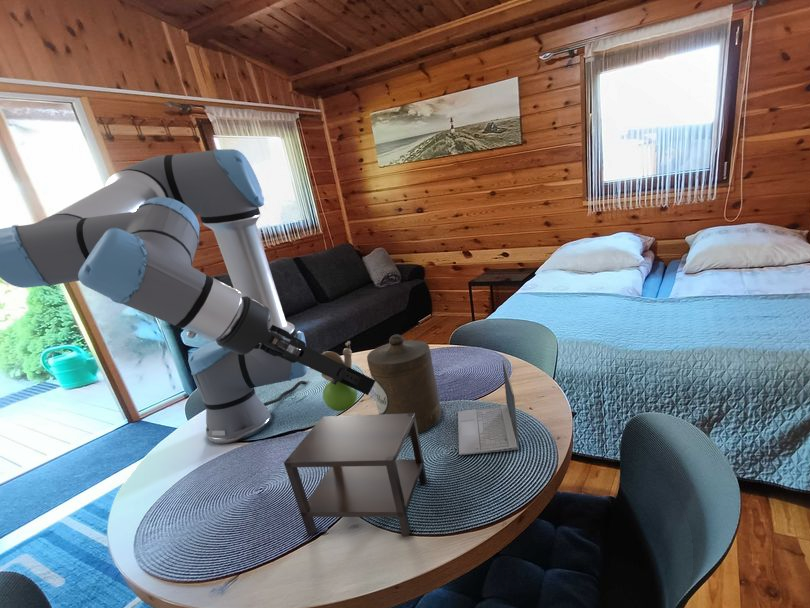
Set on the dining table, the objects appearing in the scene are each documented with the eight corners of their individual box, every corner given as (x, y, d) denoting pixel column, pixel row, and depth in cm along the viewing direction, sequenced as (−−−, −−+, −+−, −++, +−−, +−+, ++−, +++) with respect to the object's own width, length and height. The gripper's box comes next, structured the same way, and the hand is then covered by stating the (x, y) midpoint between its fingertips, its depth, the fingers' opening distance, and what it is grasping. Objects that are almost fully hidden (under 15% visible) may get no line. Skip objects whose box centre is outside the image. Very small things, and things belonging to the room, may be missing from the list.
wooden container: (385, 408, 113) (368, 329, 105) (441, 401, 113) (429, 321, 105) (377, 439, 99) (357, 351, 91) (441, 431, 99) (426, 343, 91)
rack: (340, 481, 86) (322, 416, 81) (427, 480, 84) (414, 412, 78) (307, 535, 74) (283, 462, 68) (409, 536, 71) (392, 460, 65)
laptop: (458, 413, 106) (451, 365, 101) (508, 407, 106) (504, 358, 101) (459, 457, 89) (450, 402, 84) (519, 450, 89) (514, 394, 84)
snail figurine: (357, 417, 69) (341, 348, 65) (321, 417, 71) (302, 349, 66) (370, 400, 74) (356, 335, 70) (336, 400, 76) (320, 336, 71)
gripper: (198, 332, 64) (328, 389, 79) (232, 357, 51) (379, 419, 66) (225, 288, 65) (348, 353, 80) (265, 301, 52) (402, 375, 68)
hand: (362, 383), depth 73 cm, fingers closed on snail figurine, 5 cm apart
